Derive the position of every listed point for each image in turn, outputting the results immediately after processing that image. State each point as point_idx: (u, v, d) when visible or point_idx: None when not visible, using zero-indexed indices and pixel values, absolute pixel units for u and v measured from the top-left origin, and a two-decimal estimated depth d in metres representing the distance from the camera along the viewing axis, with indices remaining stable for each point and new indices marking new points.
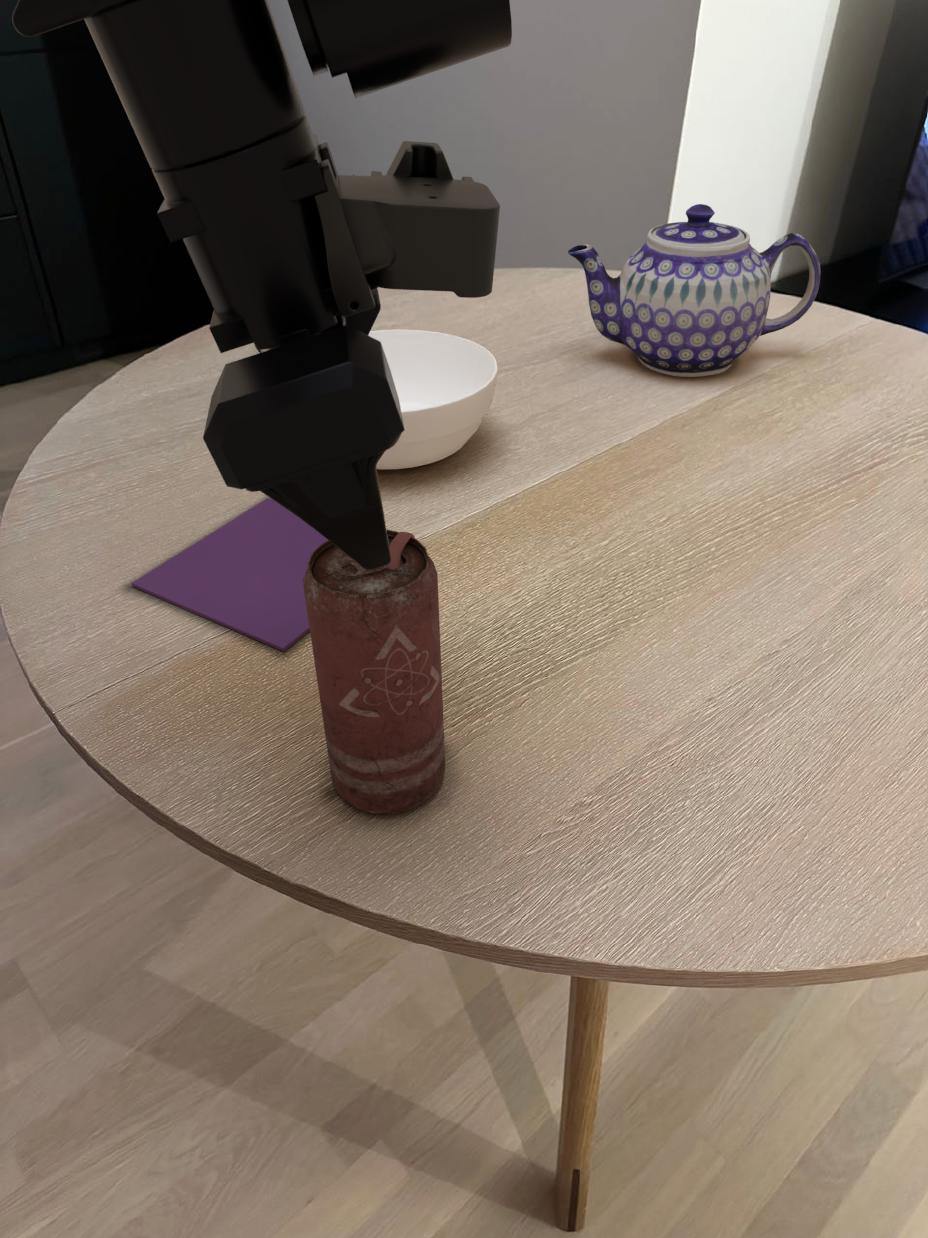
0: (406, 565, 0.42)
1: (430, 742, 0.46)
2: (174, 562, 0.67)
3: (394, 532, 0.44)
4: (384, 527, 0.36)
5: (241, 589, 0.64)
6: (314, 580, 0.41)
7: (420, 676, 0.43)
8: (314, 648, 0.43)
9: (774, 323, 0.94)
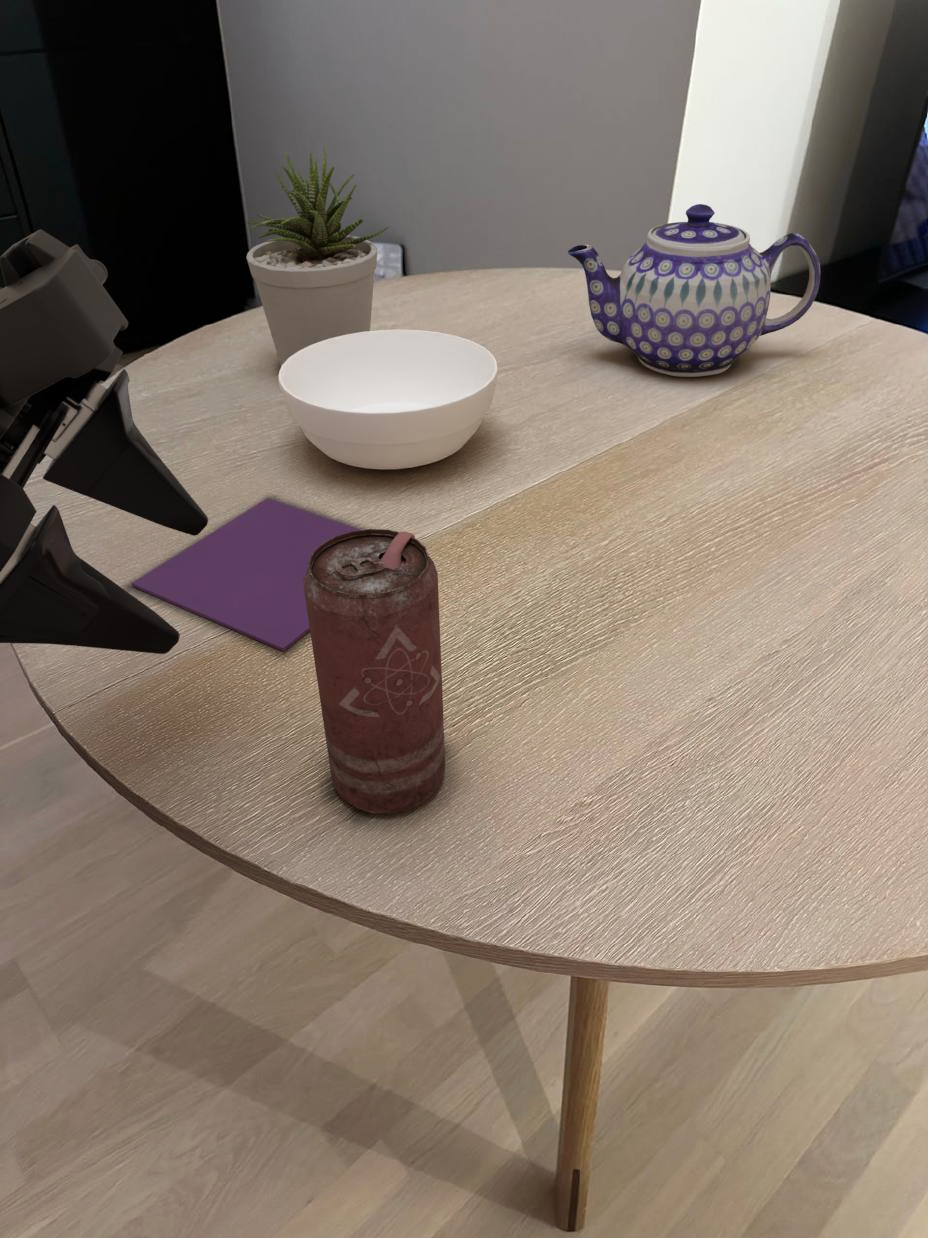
0: (406, 565, 0.42)
1: (430, 742, 0.46)
2: (174, 562, 0.67)
3: (395, 532, 0.44)
4: (137, 616, 0.36)
5: (241, 589, 0.64)
6: (314, 580, 0.41)
7: (420, 676, 0.43)
8: (314, 648, 0.43)
9: (774, 323, 0.94)
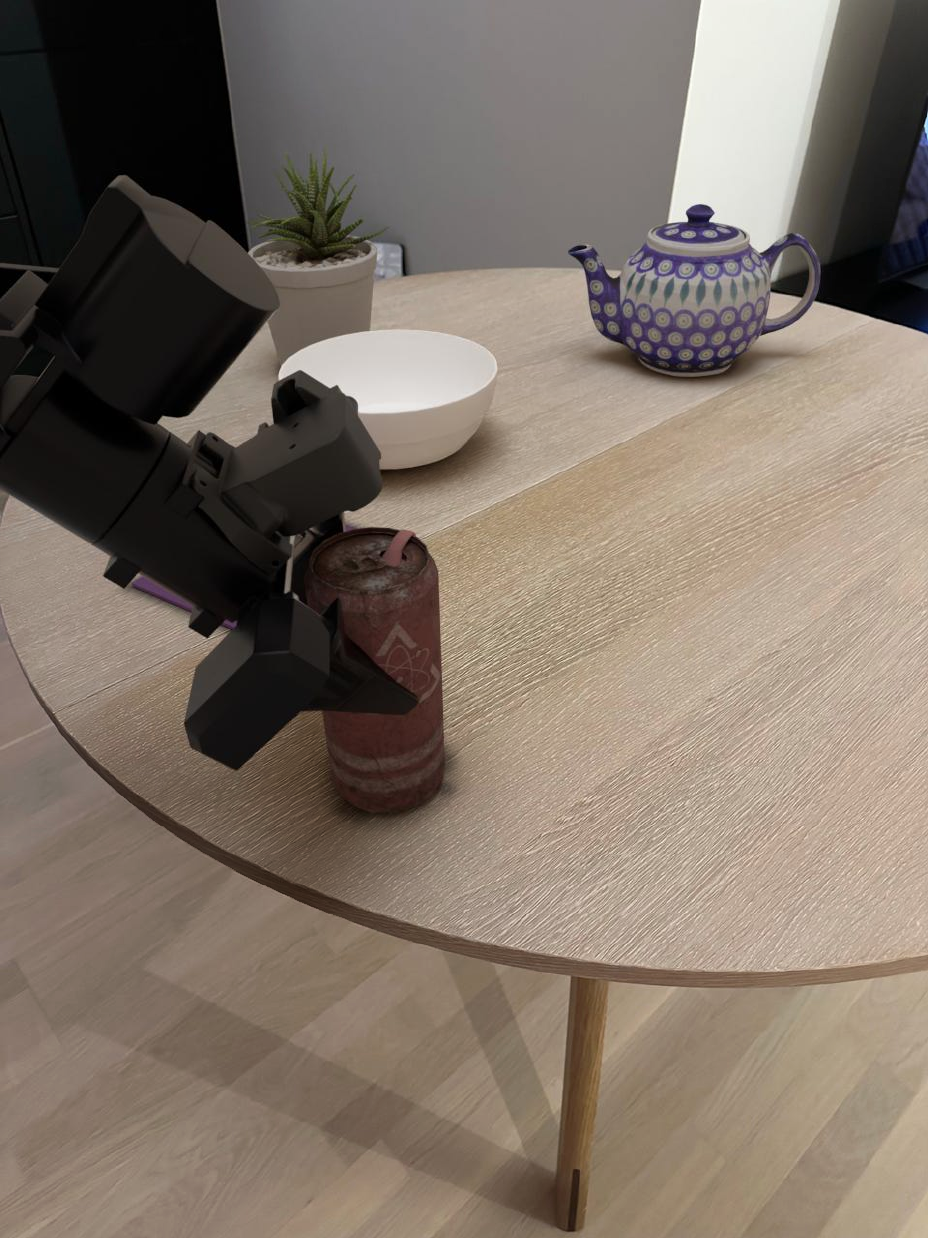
0: (407, 562, 0.42)
1: (430, 741, 0.46)
2: None
3: (396, 530, 0.44)
4: (391, 685, 0.42)
5: None
6: (315, 576, 0.41)
7: (420, 674, 0.43)
8: None
9: (774, 323, 0.94)
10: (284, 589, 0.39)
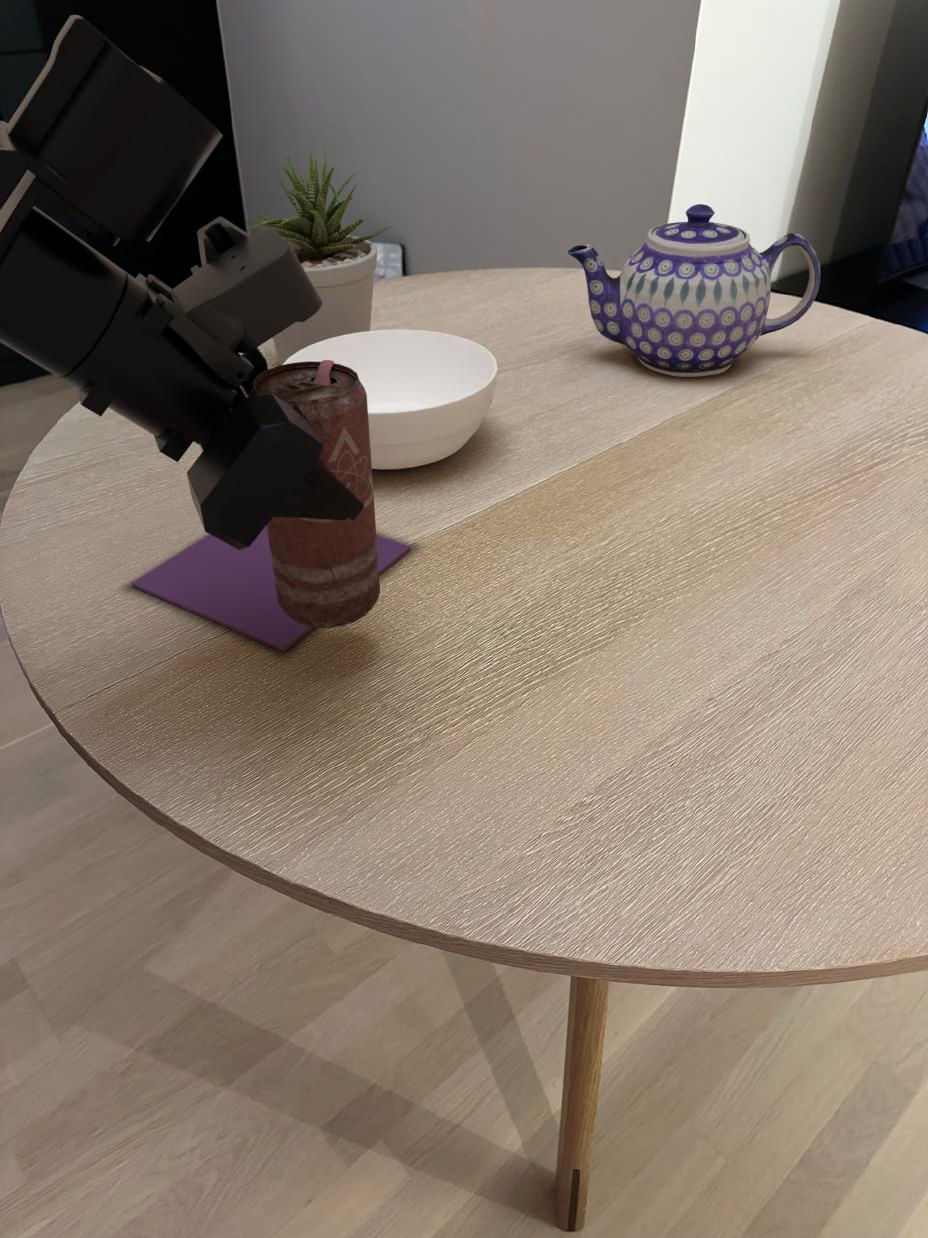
0: (338, 382, 0.48)
1: (372, 549, 0.53)
2: (174, 562, 0.67)
3: (317, 362, 0.50)
4: (344, 487, 0.48)
5: (241, 589, 0.64)
6: None
7: (363, 480, 0.50)
8: None
9: (774, 323, 0.94)
10: None
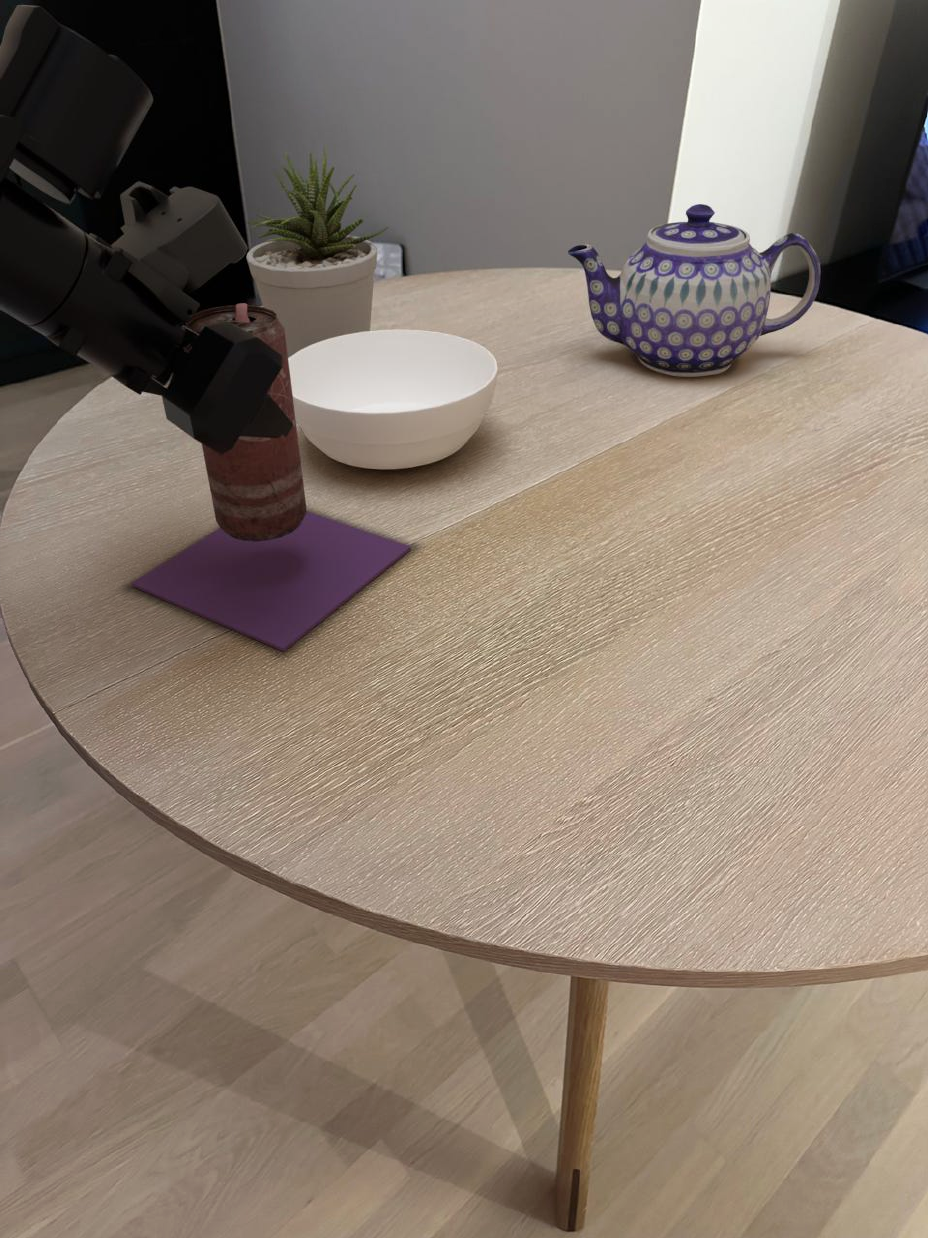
0: (257, 319, 0.57)
1: (300, 465, 0.61)
2: (174, 562, 0.67)
3: (232, 306, 0.58)
4: (279, 407, 0.56)
5: (241, 589, 0.64)
6: None
7: (289, 402, 0.58)
8: None
9: (774, 323, 0.94)
10: None
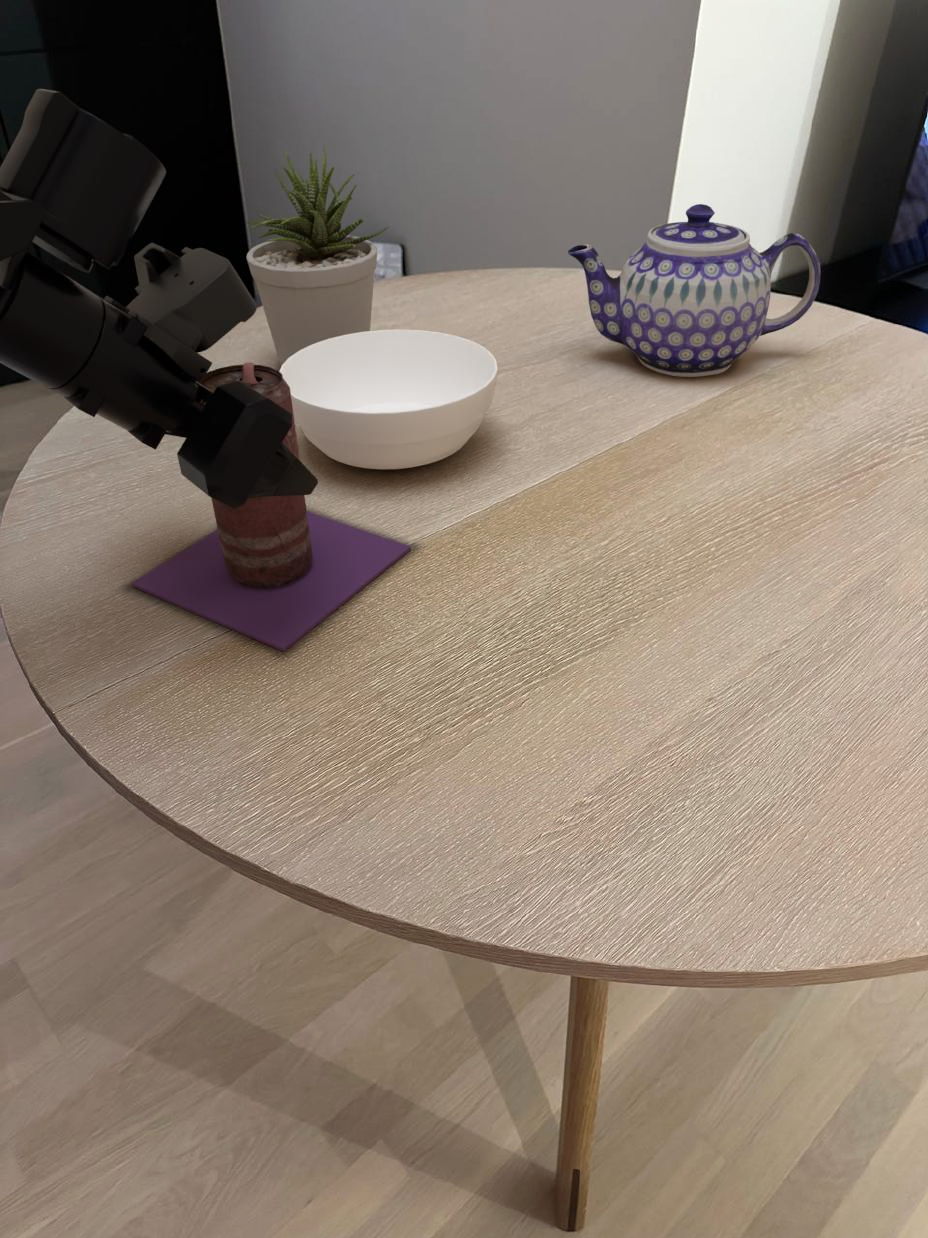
0: (264, 379, 0.59)
1: (306, 515, 0.63)
2: (174, 562, 0.67)
3: (239, 365, 0.60)
4: (304, 466, 0.57)
5: (241, 589, 0.64)
6: None
7: None
8: None
9: (774, 323, 0.94)
10: None
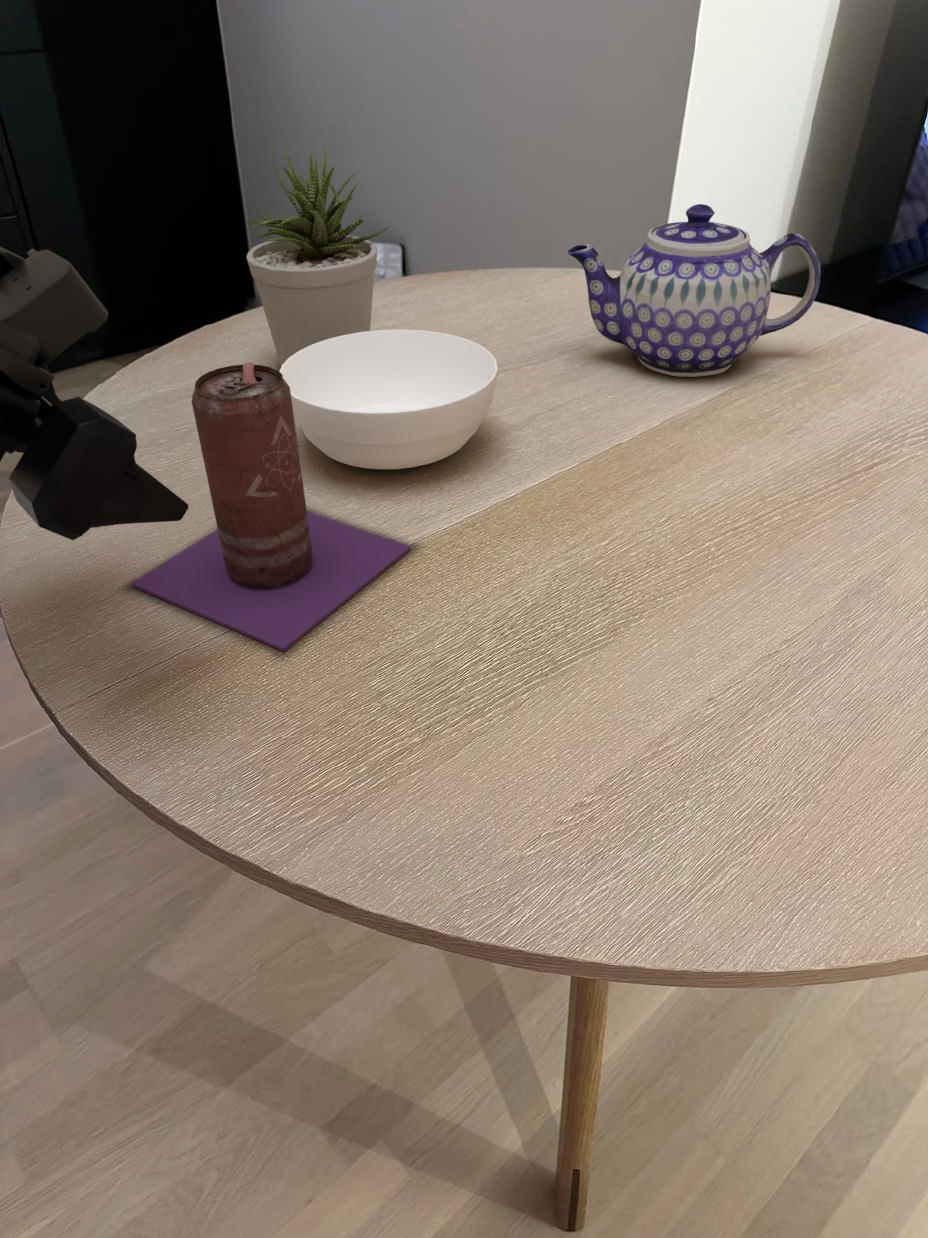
0: (264, 379, 0.59)
1: (306, 515, 0.63)
2: (174, 562, 0.67)
3: (239, 365, 0.60)
4: (168, 490, 0.52)
5: (241, 589, 0.64)
6: (213, 398, 0.56)
7: (295, 457, 0.60)
8: (217, 457, 0.58)
9: (774, 323, 0.94)
10: None
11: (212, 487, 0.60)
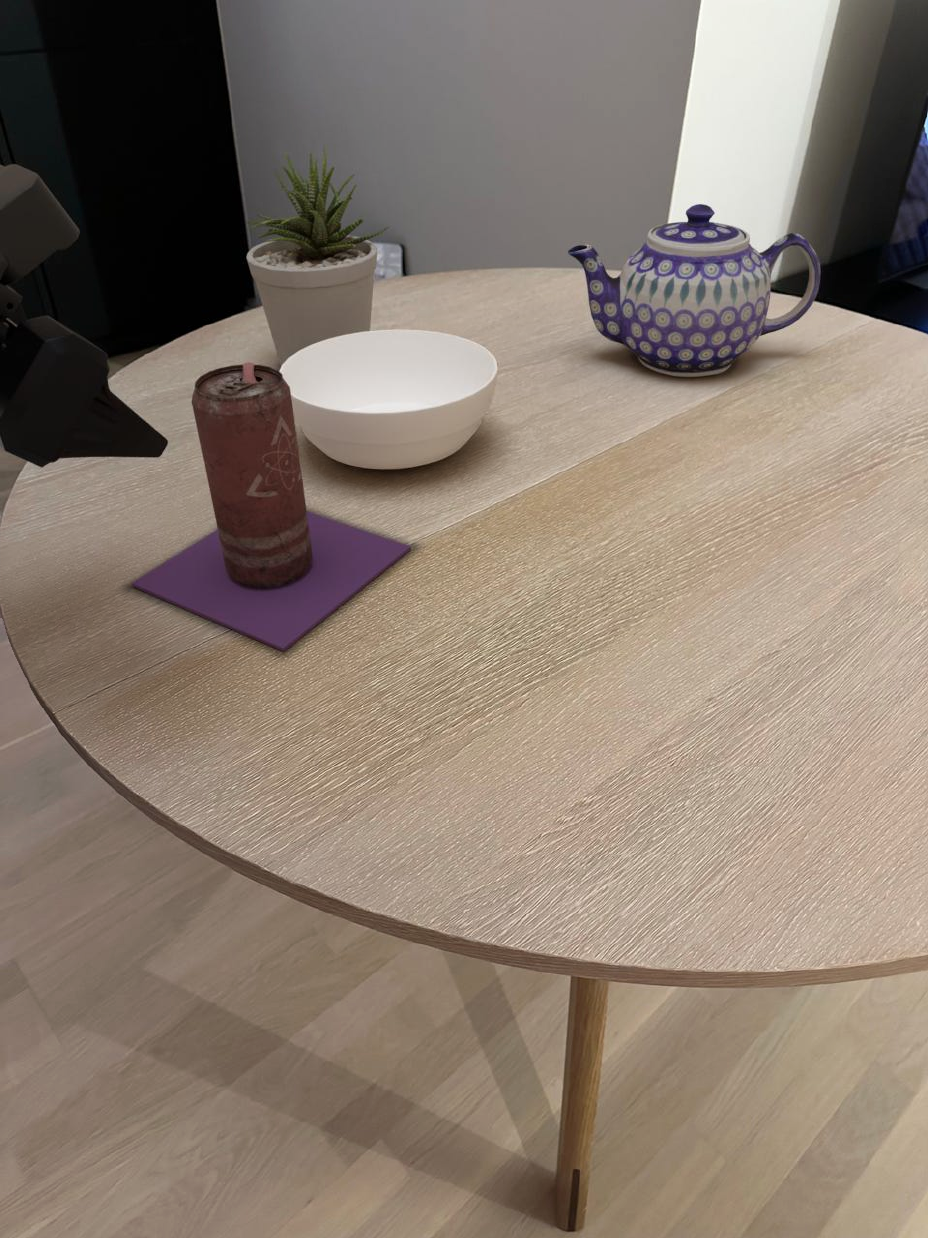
0: (264, 379, 0.59)
1: (306, 515, 0.63)
2: (174, 562, 0.67)
3: (239, 365, 0.60)
4: (146, 422, 0.49)
5: (241, 589, 0.64)
6: (213, 397, 0.56)
7: (295, 457, 0.60)
8: (217, 457, 0.58)
9: (774, 323, 0.94)
10: None
11: (212, 487, 0.60)
